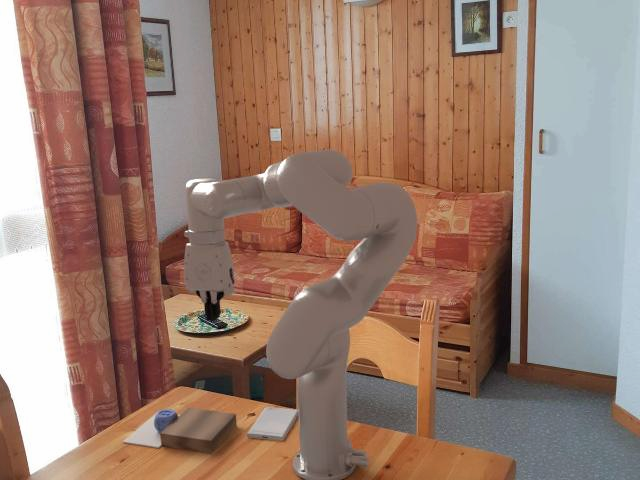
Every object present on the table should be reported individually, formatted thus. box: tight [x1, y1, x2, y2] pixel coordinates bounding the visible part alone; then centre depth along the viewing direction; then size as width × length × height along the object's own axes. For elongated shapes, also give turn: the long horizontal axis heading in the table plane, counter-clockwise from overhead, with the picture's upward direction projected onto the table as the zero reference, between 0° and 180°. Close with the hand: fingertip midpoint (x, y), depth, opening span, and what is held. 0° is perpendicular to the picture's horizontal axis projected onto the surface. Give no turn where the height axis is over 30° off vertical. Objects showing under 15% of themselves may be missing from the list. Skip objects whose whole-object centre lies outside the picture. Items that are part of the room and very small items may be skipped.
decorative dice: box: [154, 408, 179, 433], centre depth 143 cm, size 4×4×4 cm
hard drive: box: [246, 406, 299, 442], centre depth 144 cm, size 2×8×12 cm
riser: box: [160, 407, 238, 455], centre depth 140 cm, size 12×12×3 cm
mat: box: [122, 411, 181, 449], centre depth 144 cm, size 9×14×1 cm, turn 162°
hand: (213, 318), depth 140 cm, fingers closed
